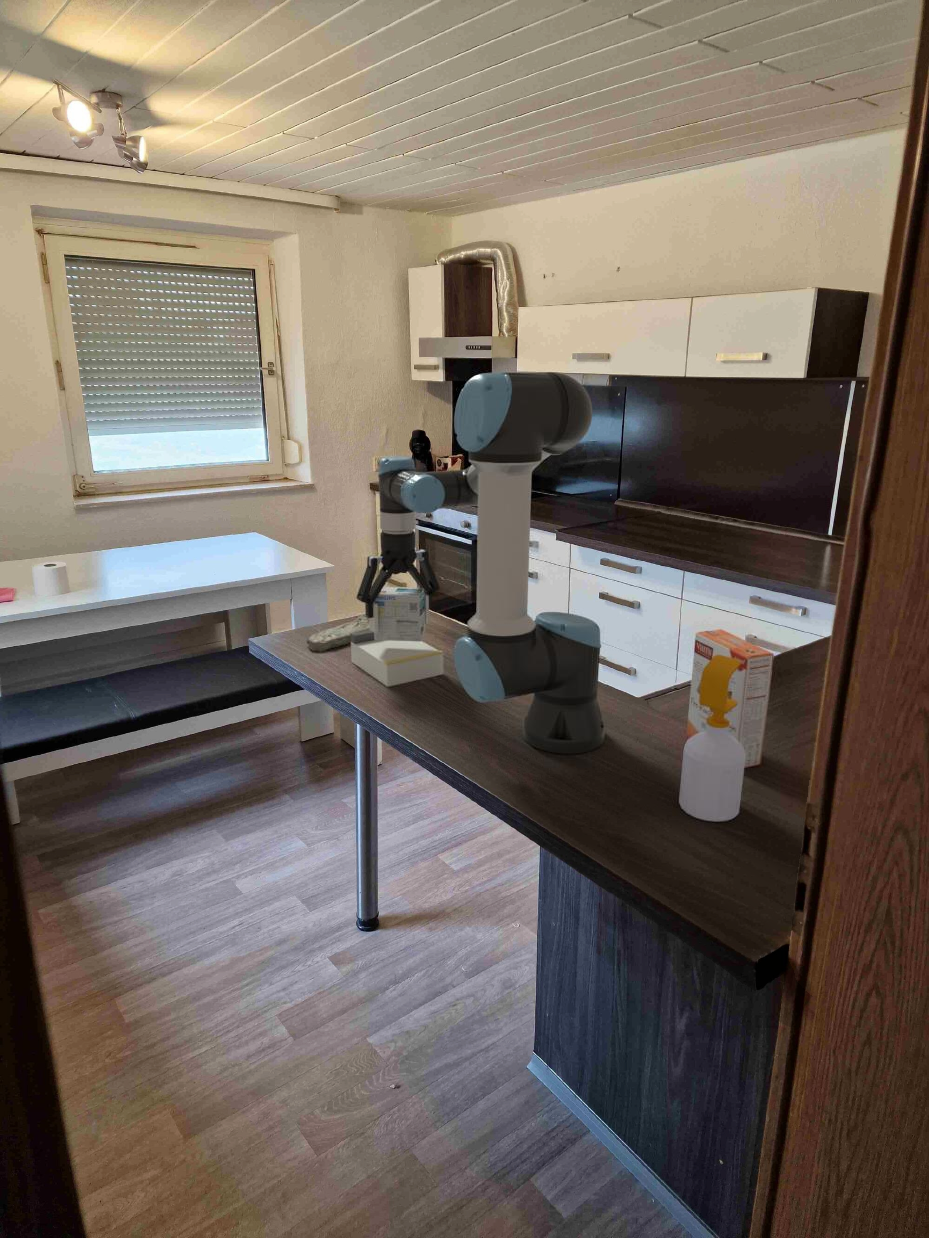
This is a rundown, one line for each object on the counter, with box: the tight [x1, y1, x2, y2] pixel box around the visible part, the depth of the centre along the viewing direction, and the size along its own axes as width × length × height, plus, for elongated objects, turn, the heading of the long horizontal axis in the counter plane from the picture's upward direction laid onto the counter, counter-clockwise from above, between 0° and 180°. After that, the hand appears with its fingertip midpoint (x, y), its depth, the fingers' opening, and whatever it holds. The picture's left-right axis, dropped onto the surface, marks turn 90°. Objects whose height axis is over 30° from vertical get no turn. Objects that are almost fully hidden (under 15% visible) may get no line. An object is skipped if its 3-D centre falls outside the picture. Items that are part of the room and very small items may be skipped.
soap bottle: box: [678, 655, 746, 823], centre depth 122 cm, size 9×9×25 cm
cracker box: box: [686, 628, 775, 769], centre depth 141 cm, size 14×6×21 cm, turn 21°
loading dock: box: [350, 630, 444, 688], centre depth 183 cm, size 18×14×7 cm
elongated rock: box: [306, 612, 370, 652], centre depth 207 cm, size 35×5×10 cm
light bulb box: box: [374, 586, 426, 642], centre depth 178 cm, size 11×7×11 cm, turn 84°
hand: (399, 626), depth 179 cm, fingers closed on light bulb box, 12 cm apart
